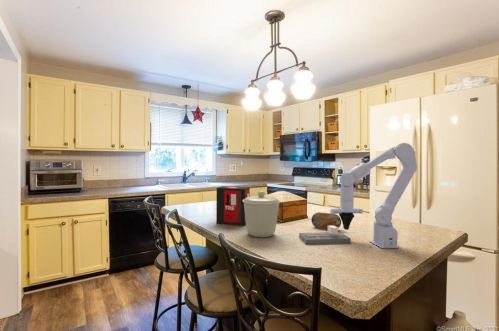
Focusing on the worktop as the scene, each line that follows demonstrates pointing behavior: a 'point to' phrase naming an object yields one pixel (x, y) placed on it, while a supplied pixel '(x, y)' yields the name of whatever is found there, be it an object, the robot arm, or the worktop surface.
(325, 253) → the worktop surface
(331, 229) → the fader tab
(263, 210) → the canister
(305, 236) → the fader console
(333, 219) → the tin
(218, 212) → the cleaning product box
